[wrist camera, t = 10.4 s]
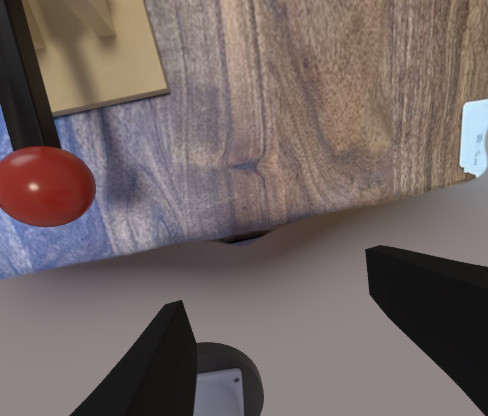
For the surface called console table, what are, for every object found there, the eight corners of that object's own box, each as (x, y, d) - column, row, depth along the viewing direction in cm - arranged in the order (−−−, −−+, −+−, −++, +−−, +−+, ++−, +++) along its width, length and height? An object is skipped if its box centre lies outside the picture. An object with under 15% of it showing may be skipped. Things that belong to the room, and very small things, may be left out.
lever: (117, 214, 11) (75, 217, 8) (47, 231, 10) (-24, 241, 7) (40, -77, 10) (-36, -194, 7) (-34, -66, 10) (-144, -182, 7)
